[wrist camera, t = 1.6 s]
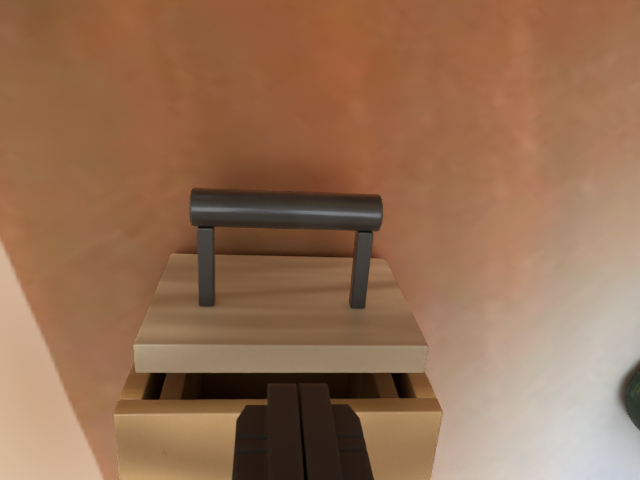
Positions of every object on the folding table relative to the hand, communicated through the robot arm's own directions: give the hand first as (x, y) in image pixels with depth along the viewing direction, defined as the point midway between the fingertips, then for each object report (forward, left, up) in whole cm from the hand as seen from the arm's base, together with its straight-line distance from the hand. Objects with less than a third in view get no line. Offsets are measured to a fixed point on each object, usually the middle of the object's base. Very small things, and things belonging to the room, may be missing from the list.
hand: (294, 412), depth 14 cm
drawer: (+6, 0, -13) cm, 14 cm away
